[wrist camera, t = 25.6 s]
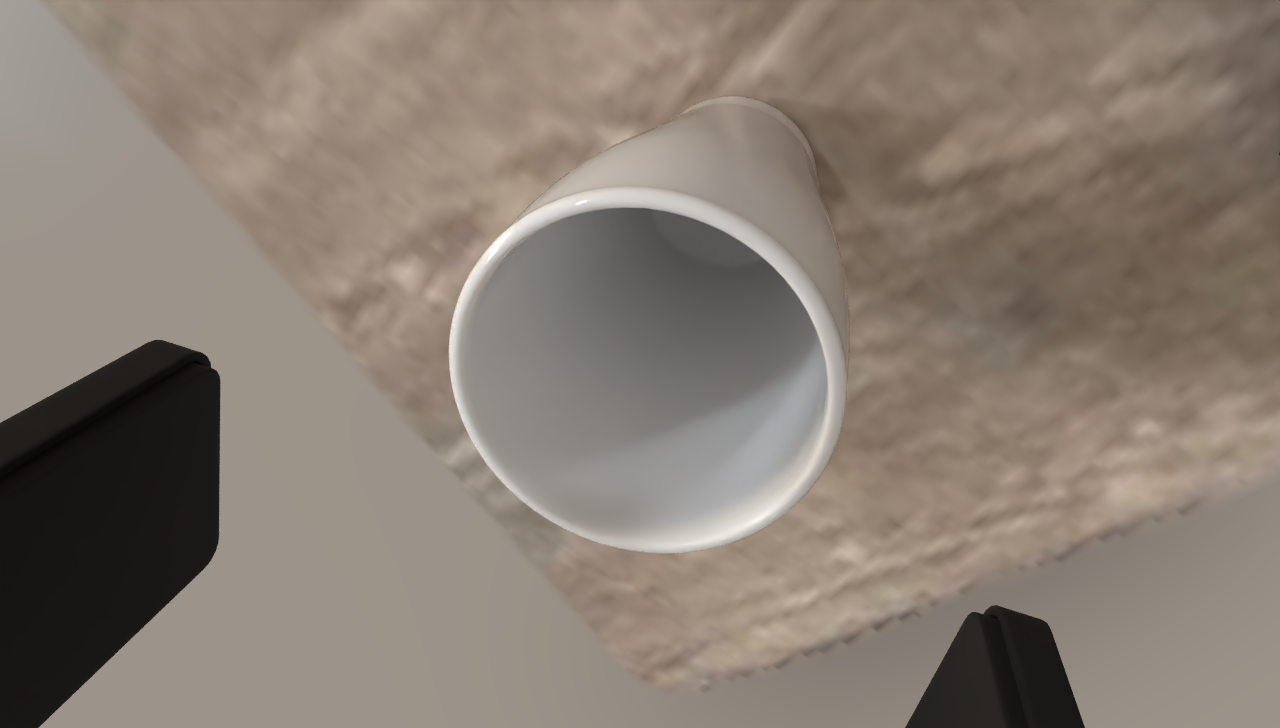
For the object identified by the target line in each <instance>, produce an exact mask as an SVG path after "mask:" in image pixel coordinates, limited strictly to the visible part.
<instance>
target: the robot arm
mask: <svg viewBox="0 0 1280 728" xmlns="http://www.w3.org/2000/svg"><path fill="white" fill-rule="evenodd" d="M219 452H220V376H219V374H218V372H217V371H216V370H214V369H212V368H211V363H210V361H209V359H208V357H207V356H206V355H204V354H203V353H201V352H198V351H194V350H191V349H188V348H185V347H182V346H179V345H176V344H173V343H169V342H166V341H163V340H154V341H151V342H148V343H146V344H144V345H142V346H141V347H139V348H137V349H135V350H133V351H132V352H130V353H128V354H126V355H124V356H122V357H121V358H119V359H117V360H115V361H113V362H111V363H109V364H108V365H106V366H104V367H102V368H100V369H98V370H97V371H95V372H93V373H91V374H89V375H87V376H86V377H84V378H82V379H80V380H78V381H76V382H75V383H73V384H71V385H69V386H67V387H65V388H64V389H62V390H60V391H58V392H56V393H54V394H53V395H51V396H49V397H47V398H45V399H43V400H42V401H40V402H38V403H36V404H34V405H32V406H31V407H29V408H27V409H25V410H23V411H21V412H20V413H18V414H16V415H14V416H12V417H11V418H8V419H7V420H5V421H3V422H1V423H0V728H38V727H40V726H41V725H42V724H43V723H44V722H45V721H46V720H47V719H48V718H49V717H50V716H51V715H52V714H53V713H54V712H55V711H56V710H57V709H58V708H59V707H60V706H61V705H62V704H63V703H64V702H66V701H67V700H68V699H69V698H70V697H71V696H72V695H73V694H74V693H75V692H76V691H77V690H78V689H79V688H80V687H81V686H82V685H83V684H84V683H85V682H86V681H88V680H89V679H90V678H91V677H92V676H93V675H94V674H95V673H96V672H97V671H98V670H99V669H100V668H101V667H102V666H103V665H104V664H105V663H106V662H107V661H108V660H109V659H110V658H111V657H113V656H114V655H115V653H117V652H118V651H119V649H121V648H122V647H123V646H124V645H125V644H126V643H127V642H128V641H129V640H130V639H131V638H132V637H133V636H134V635H135V634H137V633H138V632H139V631H140V630H141V629H142V628H143V627H144V626H145V625H146V624H147V623H148V622H149V621H150V620H151V619H152V618H153V617H154V616H155V615H156V614H157V613H158V612H159V611H161V609H162V608H164V607H165V606H166V605H167V604H168V603H169V602H170V601H171V600H172V599H173V598H174V597H175V596H176V595H177V594H178V593H179V592H180V591H181V590H182V589H183V588H185V586H187V584H189V583H190V582H191V581H192V580H193V579H194V578H195V576H197V575H198V574H199V573H200V572H201V571H202V570H203V569H204V568H205V567H206V566H207V565H208V564H209V562H210V561H211V559H212V557H213V555H214V553H215V551H216V548H217V545H218V540H219V463H220V461H219V460H220V458H219V457H220V453H219ZM905 728H1085V727H1084V724H1083V721H1082V718H1081V715H1080V712H1079V710H1078V707H1077V704H1076V701H1075V698H1074V695H1073V692H1072V689H1071V687H1070V684H1069V681H1068V678H1067V675H1066V672H1065V669H1064V666H1063V663H1062V660H1061V658H1060V655H1059V652H1058V649H1057V646H1056V643H1055V640H1054V638H1053V634H1052V632H1051V629H1050V627H1049V626H1048V624H1047V623H1046V622H1045V621H1043V620H1041V619H1038V618H1034V617H1032V616H1028V615H1025V614H1022V613H1019V612H1016V611H1013V610H1009V609H1006V608H1003V607H1000V606H997V605H995V606H991V607H989V608H988V609H987V610H986V611H985V613H984V614H980V613H977V612H972V613H970V614H969V615H968V616H967V618H966V619H965V621H964V622H963V624H962V626H961V628H960V630H959V632H958V633H957V635H956V637H955V639H954V641H953V642H952V644H951V646H950V648H949V649H948V651H947V653H946V655H945V657H944V659H943V660H942V662H941V664H940V666H939V668H938V669H937V671H936V673H935V675H934V677H933V678H932V680H931V683H930V684H929V686H928V688H927V689H926V691H925V693H924V695H923V696H922V698H921V700H920V702H919V704H918V706H917V708H916V709H915V711H914V713H913V715H912V716H911V718H910V720H909V722H908V724H907V726H906V727H905Z"/></svg>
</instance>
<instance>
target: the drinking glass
mask: <svg viewBox="0 0 1280 728" xmlns="http://www.w3.org/2000/svg"><path fill="white" fill-rule="evenodd" d="M849 353H850V321H849V303H848V294H847V286H846V279H845V272H844V268H843V264H842V259H841V255H840V250H839V247H838V243H837V240H836V237H835V234H834V231H833V228H832V225H831V222H830V219H829V216H828V213H827V210H826V208H825V204H824V201H823V198H822V195H821V192H820V189H819V186H818V176H817V168H816V163H815V159H814V156H813V153H812V150H811V148H810V146H809V143H808V141H807V140H806V138H805V136H804V135H803V133H802V132H801V130H800V129H799V128H798V127H797V125H796V124H795V123H794V122H793V121H792V120H791V119H790V118H789V117H787V116H786V115H785V114H784V113H782V112H781V111H780V110H778V109H776V108H775V107H773V106H771V105H769V104H767V103H764V102H762V101H759V100H756V99H752V98H748V97H740V96H724V97H717V98H711V99H708V100H705V101H702V102H699V103H697V104H695V105H693V106H691V107H689V108H687V109H686V110H684V111H683V112H681V113H680V114H678V115H677V116H676V117H675V118H674V119H672V120H670V121H668V122H666V123H663V124H661V125H659V126H657V127H654V128H652V129H650V130H647V131H645V132H643V133H640V134H638V135H636V136H633V137H631V138H629V139H626V140H624V141H622V142H620V143H617V144H615V145H613V146H611V147H609V148H608V149H606V150H604V151H602V152H600V153H598V154H597V155H595V156H593V157H591V158H589V159H588V160H586V161H585V162H583V163H582V164H580V165H579V166H577V167H576V168H575V169H573V170H572V171H570V172H569V173H567V174H566V175H565V176H563V177H562V178H561V179H559V180H558V181H557V182H556V183H554V184H553V185H552V186H551V187H550V188H549V189H547V190H546V191H545V192H544V193H543V194H542V195H540V196H539V197H538V198H537V199H536V200H535V201H534V202H533V203H531V204H530V205H529V206H528V207H527V208H526V209H525V210H524V211H523V212H522V213H521V214H520V215H519V216H518V217H517V218H516V219H515V221H514V222H513V223H512V224H511V225H510V226H509V227H508V228H507V229H506V230H505V231H504V232H503V233H502V234H501V235H500V236H499V237H498V238H497V239H496V240H495V241H494V242H493V243H492V244H491V245H490V246H489V247H488V249H487V250H486V251H485V252H484V254H483V255H482V256H481V258H480V259H479V260H478V262H477V263H476V264H475V266H474V268H473V269H472V271H471V273H470V275H469V276H468V278H467V280H466V282H465V284H464V286H463V289H462V291H461V293H460V296H459V298H458V302H457V305H456V308H455V311H454V315H453V320H452V325H451V330H450V341H449V368H450V376H451V384H452V388H453V392H454V397H455V401H456V404H457V407H458V410H459V413H460V416H461V418H462V421H463V423H464V425H465V428H466V430H467V432H468V434H469V436H470V438H471V440H472V442H473V443H474V445H475V447H476V449H477V450H478V452H479V453H480V455H481V456H482V458H483V459H484V461H485V462H486V463H487V465H488V466H489V467H490V469H491V470H492V471H493V472H494V474H495V475H496V476H497V477H498V478H499V479H500V480H501V481H502V482H503V484H504V485H505V486H506V487H507V488H508V489H509V490H510V491H511V492H513V493H514V494H515V495H516V496H517V497H518V498H519V499H520V500H521V501H523V502H524V503H525V504H526V505H528V506H529V507H530V508H532V509H533V510H534V511H536V512H537V513H539V514H540V515H542V516H543V517H545V518H546V519H548V520H549V521H551V522H553V523H555V524H556V525H558V526H560V527H562V528H564V529H565V530H568V531H570V532H572V533H574V534H576V535H579V536H581V537H583V538H586V539H589V540H592V541H594V542H597V543H600V544H604V545H608V546H611V547H615V548H620V549H625V550H630V551H637V552H645V553H663V554H671V553H688V552H695V551H703V550H707V549H712V548H716V547H720V546H723V545H727V544H730V543H733V542H736V541H738V540H741V539H743V538H746V537H748V536H750V535H753V534H754V533H756V532H758V531H760V530H762V529H764V528H765V527H767V526H769V525H770V524H772V523H773V522H775V521H776V520H778V519H779V518H781V517H782V516H783V515H784V514H786V513H787V512H788V511H789V510H790V509H792V508H793V507H794V506H795V505H796V504H797V503H798V502H799V501H800V500H801V499H802V498H803V497H804V496H805V495H806V494H807V493H808V492H809V490H810V489H811V488H812V486H813V485H814V484H815V483H816V481H817V480H818V479H819V477H820V475H821V474H822V472H823V471H824V469H825V467H826V466H827V464H828V462H829V460H830V458H831V456H832V454H833V451H834V449H835V447H836V444H837V441H838V438H839V435H840V432H841V429H842V424H843V420H844V415H845V408H846V399H847V380H848V369H849Z"/></svg>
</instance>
